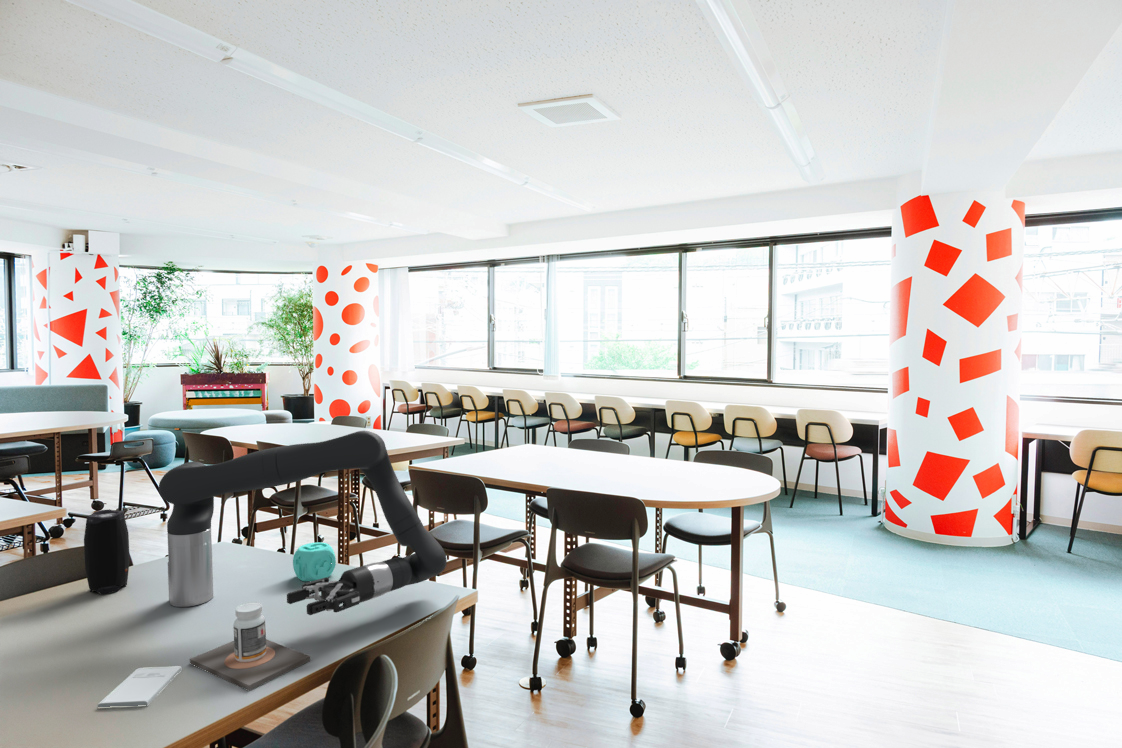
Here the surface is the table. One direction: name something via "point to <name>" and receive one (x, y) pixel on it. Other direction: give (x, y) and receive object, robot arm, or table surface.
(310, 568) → the decorative dice
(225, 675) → the dark grey flat slab
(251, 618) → the pill bottle
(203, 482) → the robot arm
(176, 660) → the table surface
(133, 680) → the external hard drive
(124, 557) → the portable speaker
